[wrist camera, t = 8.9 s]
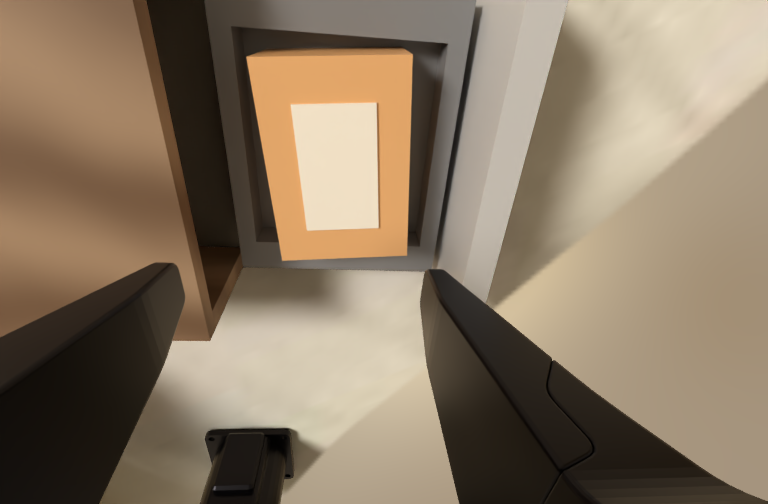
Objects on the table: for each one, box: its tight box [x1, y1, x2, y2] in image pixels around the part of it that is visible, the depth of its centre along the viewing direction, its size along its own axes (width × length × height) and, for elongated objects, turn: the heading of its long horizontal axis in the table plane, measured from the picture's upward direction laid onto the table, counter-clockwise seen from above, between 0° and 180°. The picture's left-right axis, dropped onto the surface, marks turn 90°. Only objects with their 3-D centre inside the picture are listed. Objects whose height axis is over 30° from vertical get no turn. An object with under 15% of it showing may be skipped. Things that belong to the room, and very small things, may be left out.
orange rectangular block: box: [246, 47, 413, 261], centre depth 16 cm, size 8×6×4 cm
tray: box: [204, 0, 568, 304], centre depth 16 cm, size 15×11×6 cm
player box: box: [0, 0, 243, 341], centre depth 15 cm, size 15×11×6 cm
